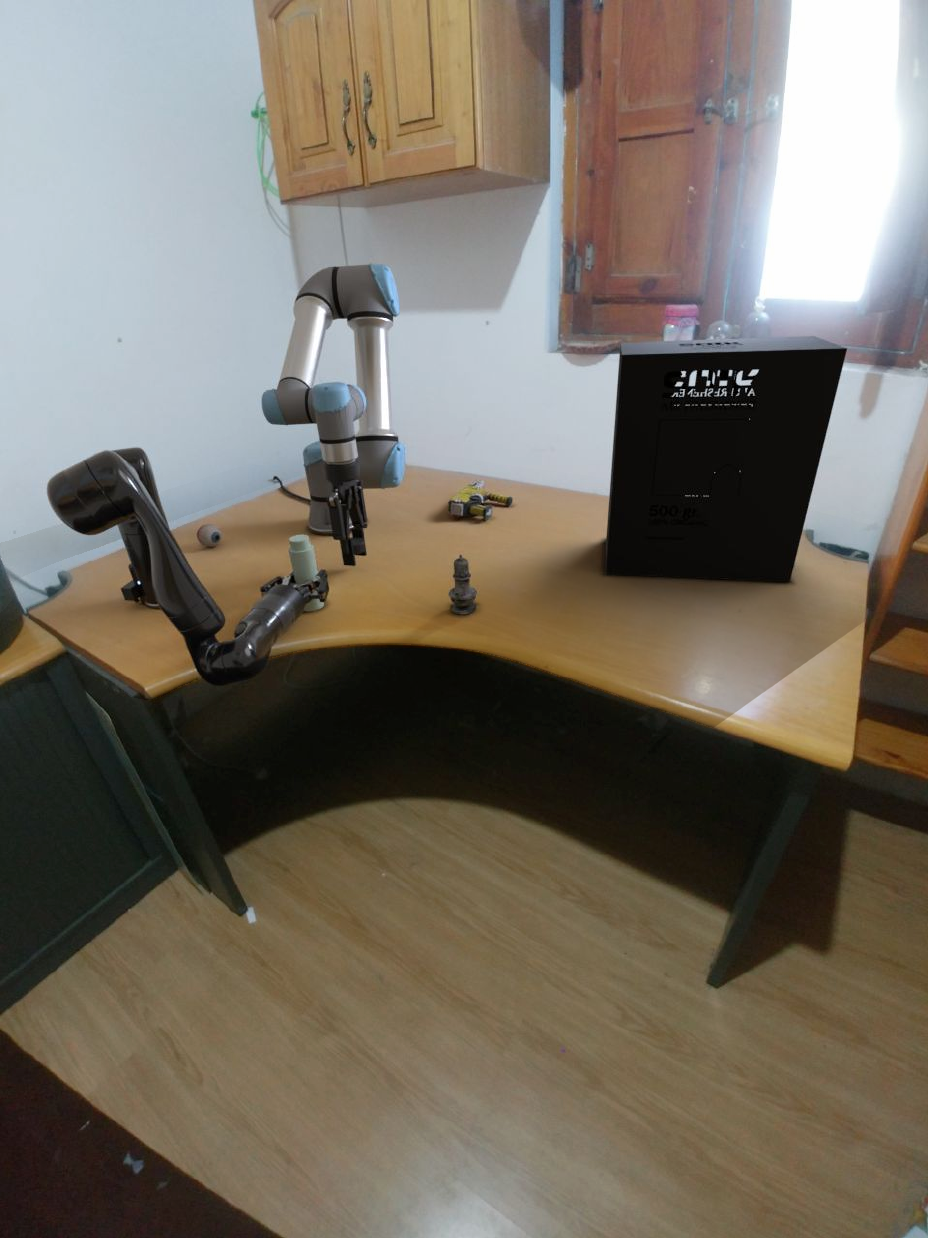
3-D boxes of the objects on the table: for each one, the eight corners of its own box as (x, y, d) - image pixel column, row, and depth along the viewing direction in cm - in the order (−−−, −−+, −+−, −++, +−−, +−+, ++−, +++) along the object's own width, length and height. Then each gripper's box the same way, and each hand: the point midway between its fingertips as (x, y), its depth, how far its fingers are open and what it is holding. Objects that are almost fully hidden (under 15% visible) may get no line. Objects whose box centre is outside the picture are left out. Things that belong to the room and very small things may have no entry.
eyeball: (210, 552, 157) (204, 530, 154) (195, 548, 160) (189, 526, 157) (229, 544, 161) (224, 522, 158) (214, 540, 164) (208, 519, 161)
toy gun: (520, 484, 182) (474, 477, 186) (498, 508, 162) (446, 499, 166) (519, 500, 184) (473, 492, 188) (497, 524, 164) (445, 516, 168)
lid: (342, 556, 137) (341, 546, 136) (342, 547, 141) (340, 538, 140) (366, 553, 138) (365, 544, 136) (365, 544, 142) (363, 535, 141)
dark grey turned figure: (475, 615, 121) (472, 561, 115) (446, 614, 122) (442, 560, 116) (480, 601, 126) (478, 548, 120) (452, 600, 127) (449, 547, 121)
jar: (317, 598, 131) (304, 531, 124) (328, 606, 128) (315, 537, 120) (296, 605, 129) (282, 538, 121) (307, 613, 125) (292, 544, 118)
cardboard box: (768, 543, 143) (813, 335, 121) (789, 582, 126) (847, 348, 104) (606, 538, 151) (620, 342, 128) (605, 574, 134) (622, 354, 111)
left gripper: (308, 596, 110) (341, 557, 124) (236, 593, 112) (277, 555, 127) (315, 631, 114) (346, 589, 128) (245, 627, 116) (284, 587, 131)
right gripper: (344, 449, 138) (357, 544, 149) (303, 471, 123) (322, 575, 134) (374, 450, 136) (385, 546, 147) (336, 472, 121) (352, 577, 132)
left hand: (311, 573), depth 127 cm, fingers closed on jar, 5 cm apart
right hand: (355, 559), depth 141 cm, fingers closed on lid, 5 cm apart
